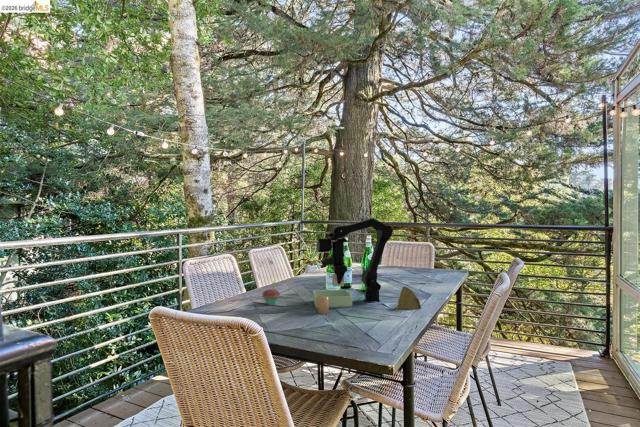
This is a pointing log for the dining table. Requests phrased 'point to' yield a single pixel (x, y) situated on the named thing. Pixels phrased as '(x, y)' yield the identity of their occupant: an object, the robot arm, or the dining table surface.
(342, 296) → the tote
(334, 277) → the maple cube
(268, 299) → the cupcake
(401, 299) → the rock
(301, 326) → the dining table surface
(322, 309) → the tan capsule
